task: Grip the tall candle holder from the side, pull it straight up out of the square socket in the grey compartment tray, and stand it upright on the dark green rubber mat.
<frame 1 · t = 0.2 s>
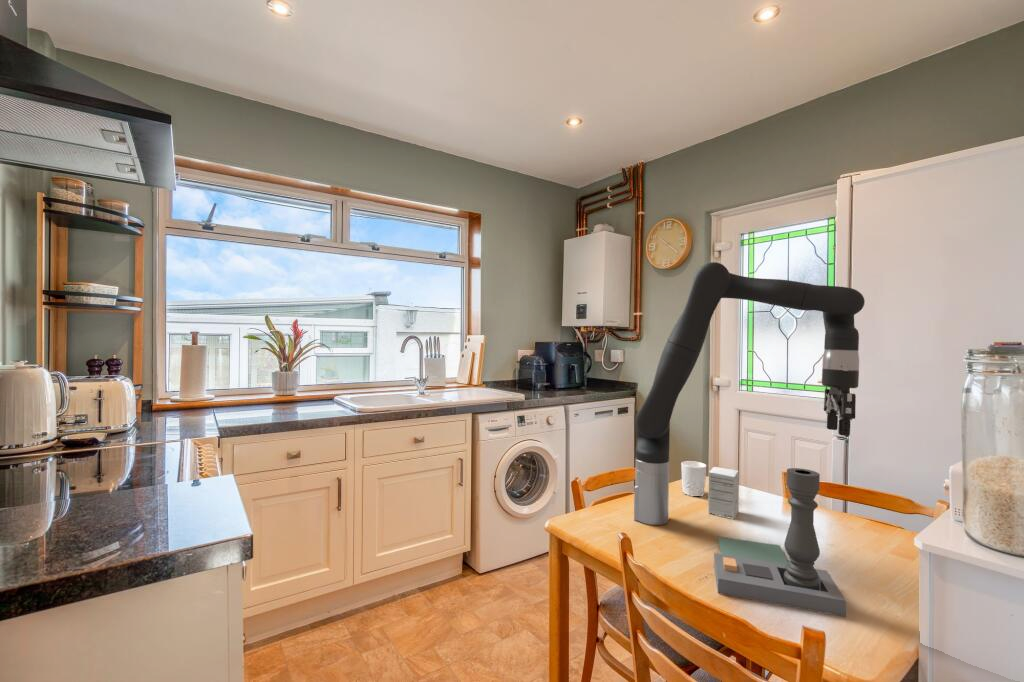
hand: (837, 432, 115), 29 cm above the table, tool pointing down, fingers open, 8 cm apart
supplement box: (723, 513, 137), on the table
mat: (751, 555, 110), on the table
candle holder: (801, 594, 94), resting in grey compartment tray
white cup: (693, 494, 154), on the table
grey compartment tray: (773, 588, 95), on the table
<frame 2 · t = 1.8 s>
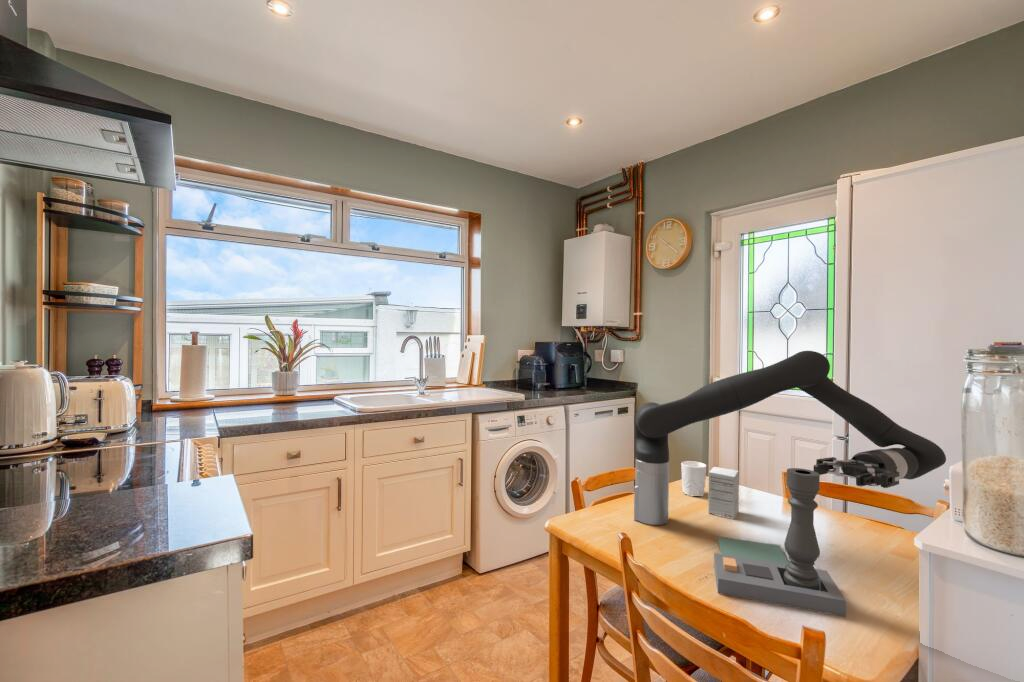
hand: (836, 475, 98), 23 cm above the table, tool horizontal, fingers open, 8 cm apart
nothing on the table moved.
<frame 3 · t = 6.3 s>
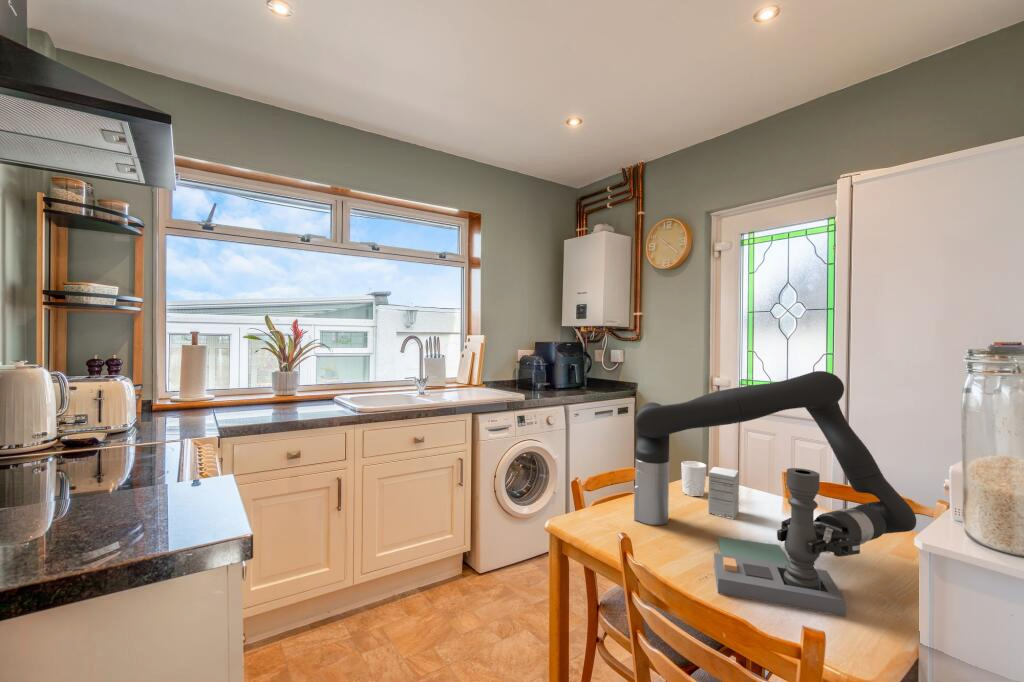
hand: (794, 542, 93), 11 cm above the table, tool horizontal, fingers closed on candle holder, 5 cm apart
candle holder: (801, 594, 94), resting in grey compartment tray, touching gripper
everything else where it was.
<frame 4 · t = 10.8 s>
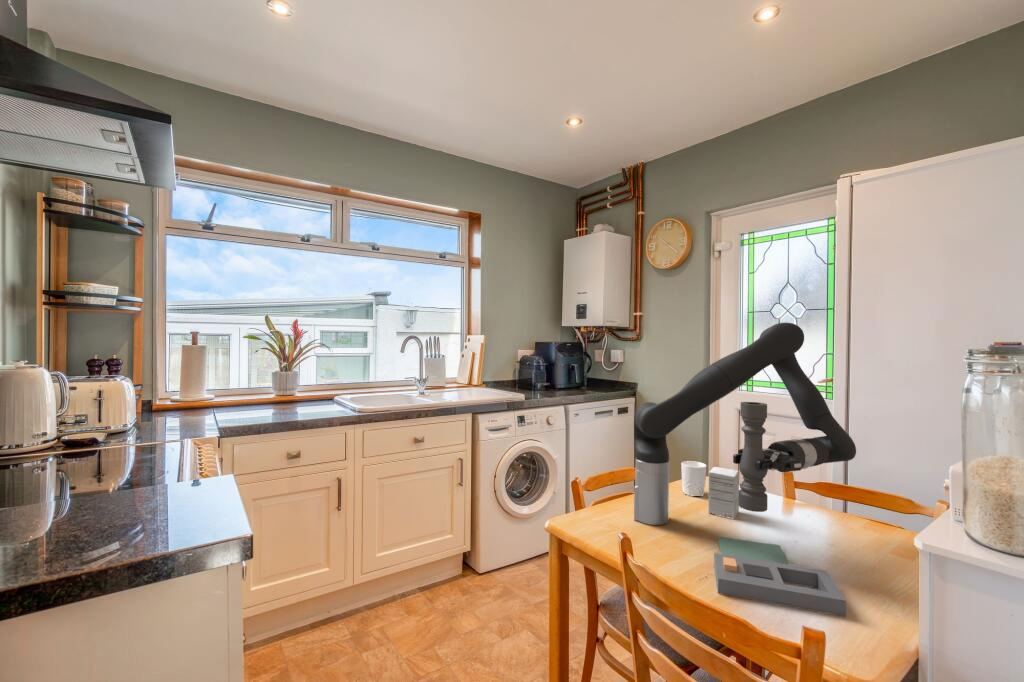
hand: (746, 462, 109), 23 cm above the table, tool horizontal, fingers closed on candle holder, 5 cm apart
candle holder: (752, 507, 110), point 11 cm above the table, touching gripper
everything else where it was.
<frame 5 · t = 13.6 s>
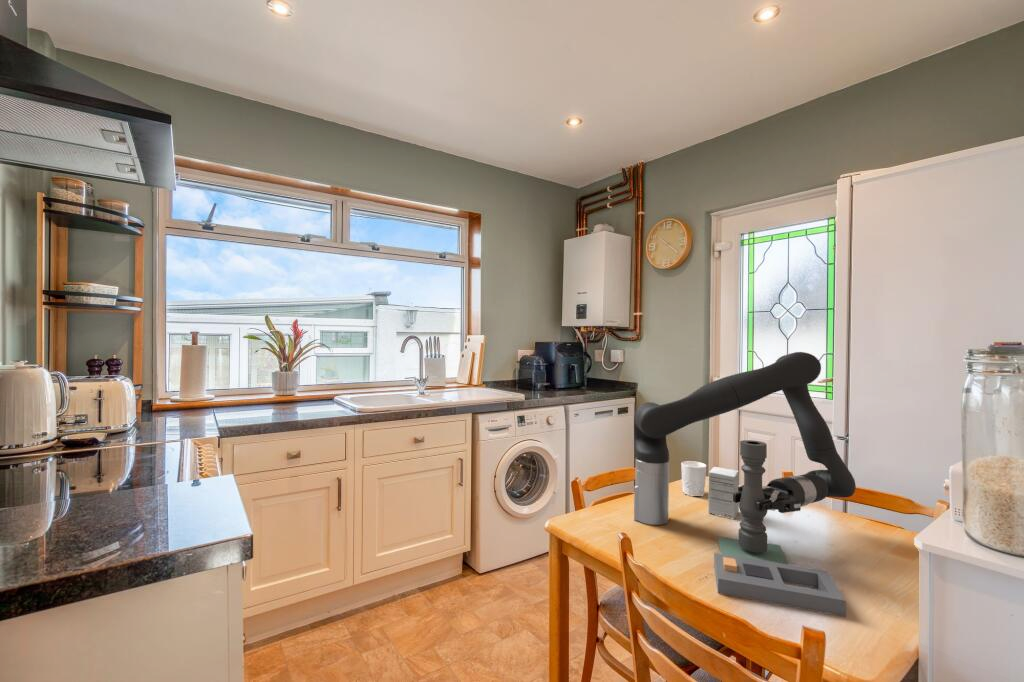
hand: (746, 502, 109), 13 cm above the table, tool horizontal, fingers closed on candle holder, 5 cm apart
candle holder: (752, 547, 110), point 2 cm above the table, touching gripper
everything else where it was.
when the fingers open (12 cm above the table, at t = 15.6 s): candle holder stays where it is, resting on mat.
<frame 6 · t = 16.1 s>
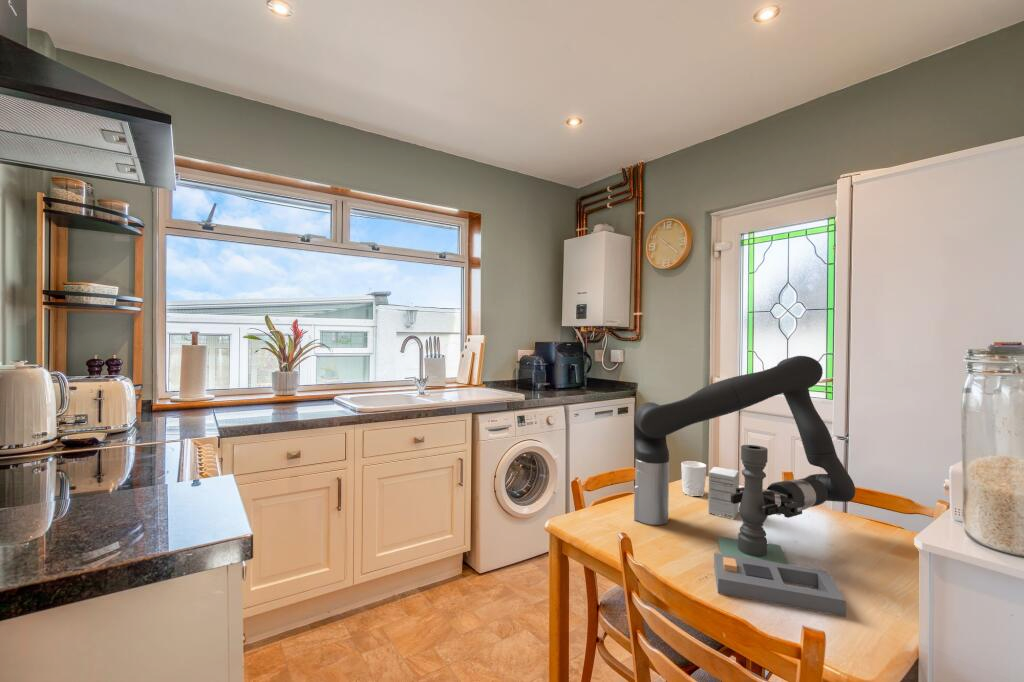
hand: (747, 505, 109), 12 cm above the table, tool horizontal, fingers open, 8 cm apart
candle holder: (752, 551, 110), point 1 cm above the table, touching mat
everything else where it was.
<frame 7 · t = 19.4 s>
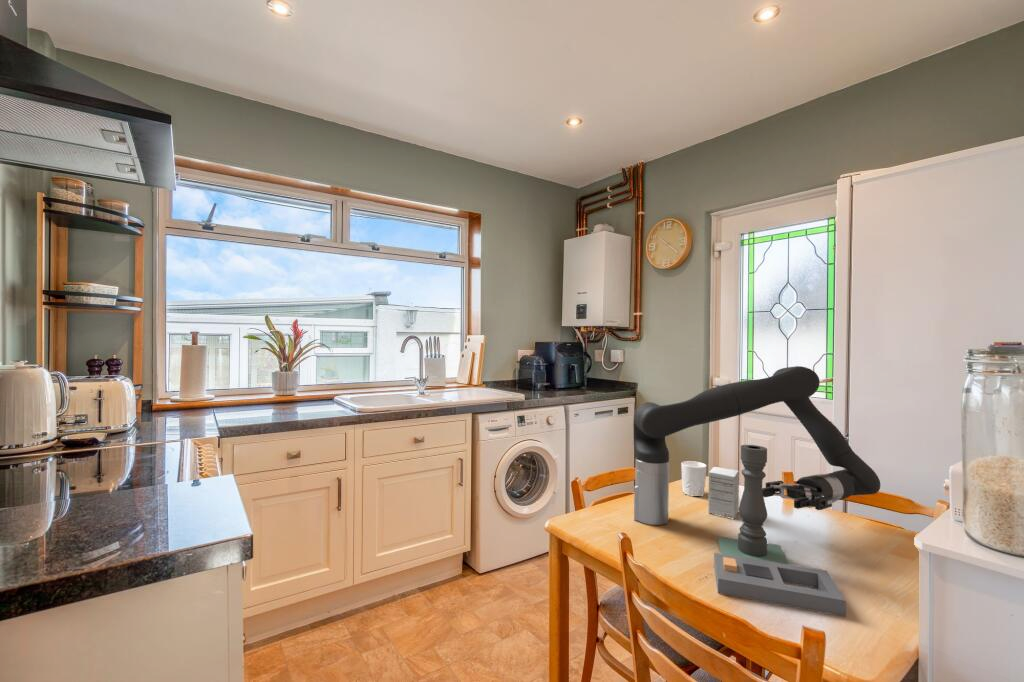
hand: (778, 498, 114), 12 cm above the table, tool horizontal, fingers open, 8 cm apart
nothing on the table moved.
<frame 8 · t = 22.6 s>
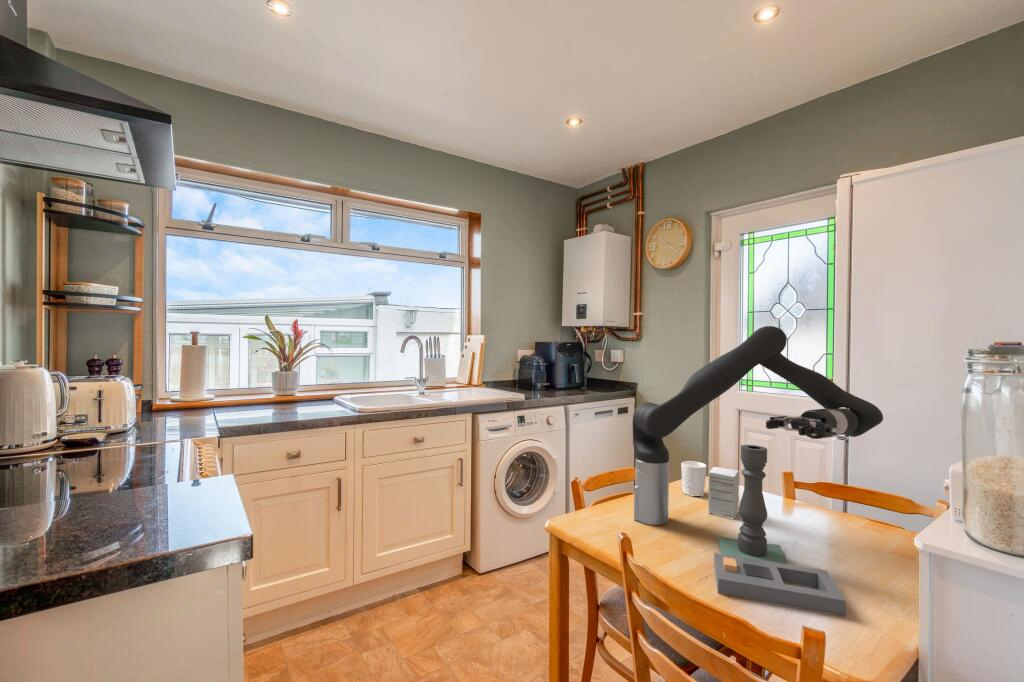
hand: (783, 427, 114), 30 cm above the table, tool horizontal, fingers open, 8 cm apart
nothing on the table moved.
at the end: candle holder inside the target area (0.1 cm from its centre), point 0.8 cm above the table; candle holder tilted 0°; the gripper is holding nothing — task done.
